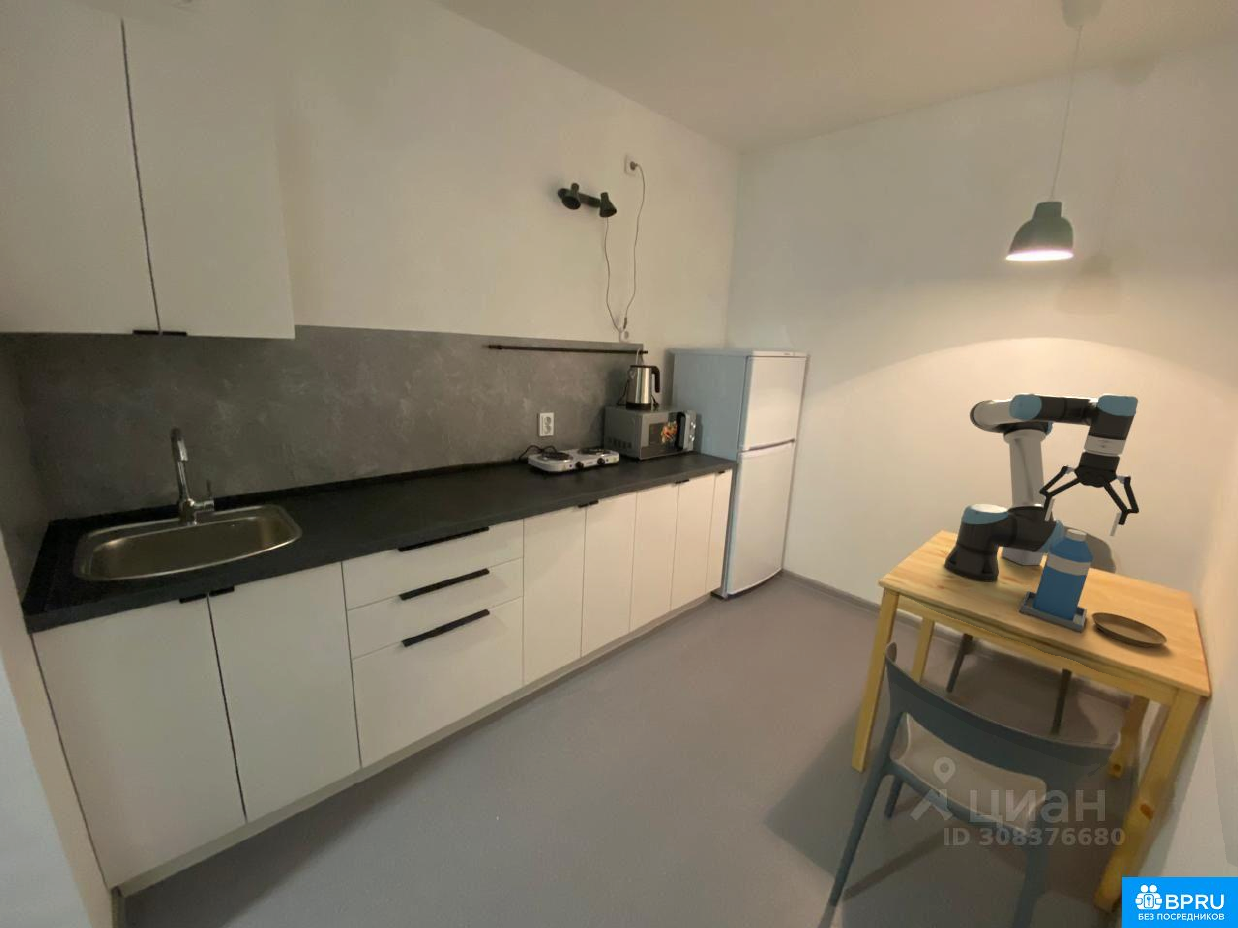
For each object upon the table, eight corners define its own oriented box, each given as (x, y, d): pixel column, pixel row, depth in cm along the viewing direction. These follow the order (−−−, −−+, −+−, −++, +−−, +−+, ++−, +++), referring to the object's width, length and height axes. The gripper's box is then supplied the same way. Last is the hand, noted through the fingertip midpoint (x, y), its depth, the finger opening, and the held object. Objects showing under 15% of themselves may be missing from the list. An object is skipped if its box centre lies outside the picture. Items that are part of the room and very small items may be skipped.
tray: (1018, 611, 144) (1020, 605, 144) (1026, 597, 153) (1028, 590, 153) (1081, 633, 135) (1083, 626, 134) (1085, 616, 144) (1087, 609, 143)
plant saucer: (1125, 621, 143) (1128, 613, 142) (1180, 653, 128) (1184, 644, 128) (1074, 618, 143) (1077, 610, 142) (1123, 650, 129) (1127, 641, 128)
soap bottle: (998, 555, 184) (1016, 491, 178) (1017, 554, 186) (1035, 491, 180) (1022, 566, 176) (1042, 499, 169) (1042, 565, 178) (1061, 499, 172)
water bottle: (1081, 623, 139) (1108, 540, 132) (1043, 617, 140) (1068, 535, 134) (1060, 606, 148) (1084, 528, 141) (1025, 601, 149) (1047, 523, 143)
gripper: (1040, 445, 138) (1020, 516, 144) (1170, 465, 121) (1141, 545, 126) (1043, 442, 143) (1024, 511, 149) (1169, 461, 126) (1142, 538, 132)
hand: (1078, 527), depth 138 cm, fingers open, 13 cm apart
